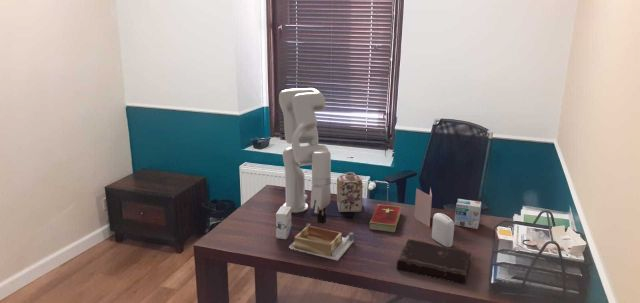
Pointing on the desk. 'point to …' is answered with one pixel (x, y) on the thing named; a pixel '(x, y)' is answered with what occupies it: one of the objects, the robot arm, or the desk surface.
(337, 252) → the grey flat slab
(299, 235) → the crate
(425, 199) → the greeting card
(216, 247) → the desk surface
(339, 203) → the decorative jar
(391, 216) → the hardcover book
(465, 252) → the diary
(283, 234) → the ink box
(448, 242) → the photo printer
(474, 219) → the light bulb box
